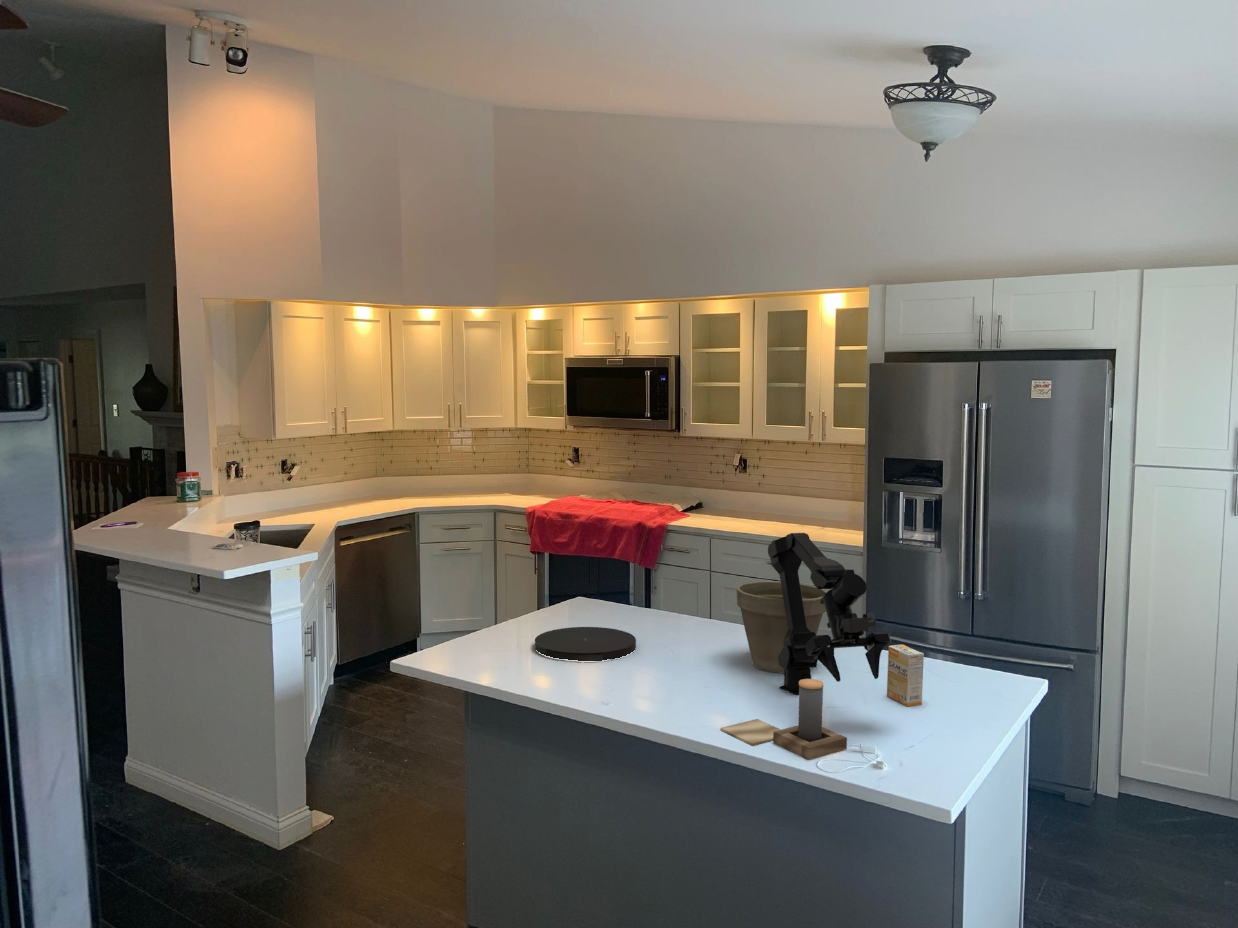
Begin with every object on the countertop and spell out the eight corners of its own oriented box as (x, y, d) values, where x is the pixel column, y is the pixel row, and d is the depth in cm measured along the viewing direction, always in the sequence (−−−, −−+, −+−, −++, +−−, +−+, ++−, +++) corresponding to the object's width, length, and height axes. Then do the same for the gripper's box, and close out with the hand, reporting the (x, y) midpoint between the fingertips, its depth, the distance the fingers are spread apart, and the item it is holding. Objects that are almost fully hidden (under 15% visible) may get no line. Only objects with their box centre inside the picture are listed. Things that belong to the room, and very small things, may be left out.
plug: (792, 744, 202) (793, 681, 201) (809, 739, 205) (811, 677, 204) (809, 752, 198) (811, 687, 196) (827, 747, 200) (828, 683, 199)
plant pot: (820, 654, 270) (822, 581, 269) (831, 681, 246) (833, 600, 244) (734, 651, 273) (735, 578, 271) (736, 677, 248) (737, 597, 247)
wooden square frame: (773, 742, 203) (773, 731, 203) (809, 732, 209) (810, 721, 208) (809, 759, 194) (809, 747, 193) (846, 748, 200) (846, 737, 199)
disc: (520, 641, 283) (520, 631, 283) (610, 631, 296) (610, 622, 296) (556, 668, 256) (556, 657, 256) (653, 656, 269) (653, 645, 269)
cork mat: (720, 729, 210) (720, 727, 210) (757, 720, 216) (757, 718, 216) (752, 745, 201) (752, 743, 201) (790, 735, 207) (790, 733, 207)
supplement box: (885, 696, 234) (887, 645, 233) (901, 694, 236) (903, 643, 235) (906, 707, 226) (908, 654, 225) (922, 704, 228) (924, 652, 227)
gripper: (815, 602, 206) (833, 669, 198) (891, 598, 211) (912, 664, 203) (797, 621, 215) (814, 687, 207) (871, 617, 220) (889, 681, 212)
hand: (858, 679), depth 207 cm, fingers open, 9 cm apart
